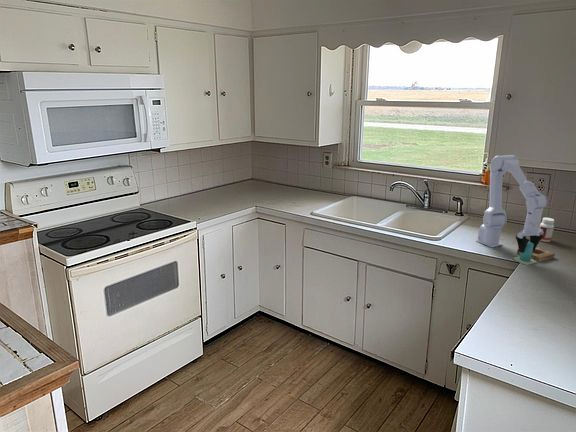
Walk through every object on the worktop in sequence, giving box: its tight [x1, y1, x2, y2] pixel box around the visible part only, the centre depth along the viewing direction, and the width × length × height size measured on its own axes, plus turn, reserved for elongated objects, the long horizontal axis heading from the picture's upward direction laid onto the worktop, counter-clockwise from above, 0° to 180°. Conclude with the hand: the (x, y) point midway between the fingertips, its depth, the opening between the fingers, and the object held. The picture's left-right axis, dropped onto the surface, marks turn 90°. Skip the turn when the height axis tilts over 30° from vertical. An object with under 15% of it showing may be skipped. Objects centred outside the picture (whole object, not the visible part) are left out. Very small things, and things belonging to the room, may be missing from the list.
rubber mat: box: [512, 255, 538, 266], centre depth 198 cm, size 7×7×1 cm
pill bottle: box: [539, 217, 555, 243], centre depth 222 cm, size 6×6×11 cm
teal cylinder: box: [519, 241, 534, 262], centre depth 197 cm, size 4×4×8 cm
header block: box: [516, 246, 556, 263], centre depth 204 cm, size 11×11×2 cm
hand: (526, 250), depth 197 cm, fingers open, 7 cm apart
